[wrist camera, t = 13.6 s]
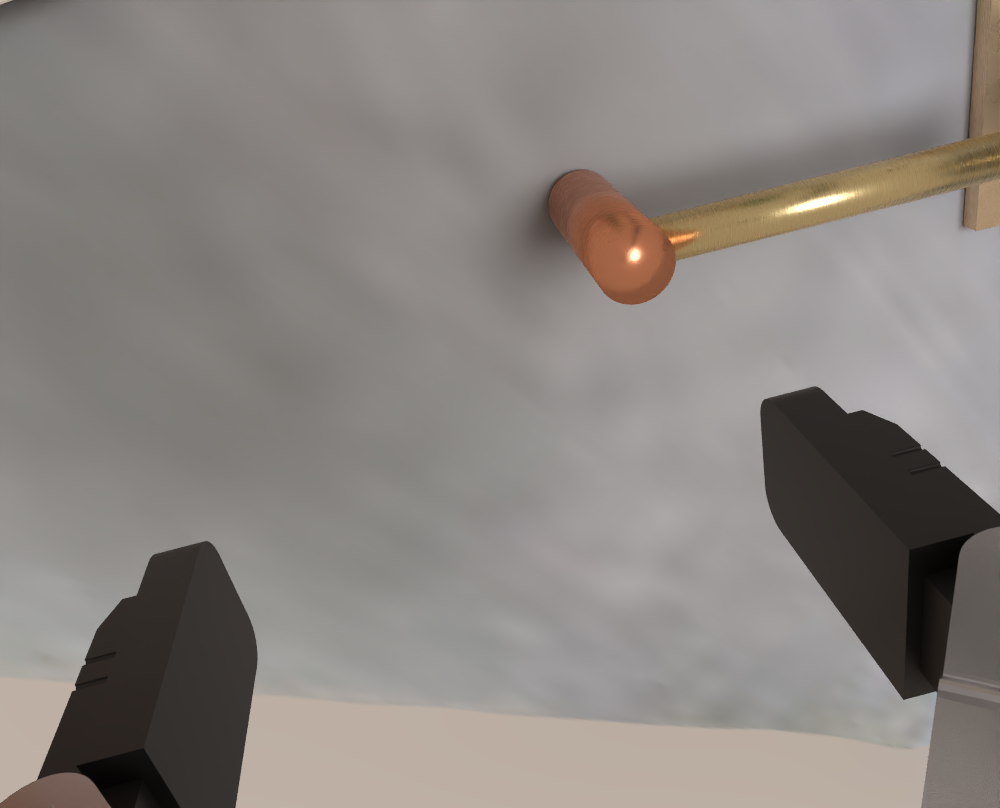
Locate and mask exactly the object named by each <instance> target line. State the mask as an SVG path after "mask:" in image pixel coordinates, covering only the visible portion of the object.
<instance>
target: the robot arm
mask: <svg viewBox="0 0 1000 808" xmlns="http://www.w3.org/2000/svg"><path fill="white" fill-rule="evenodd" d="M760 413H761V431H762V446H763V461H764V476H765V489H766V495H767V499H768V503H769V507H770V510H771V513H772V515H773V517H774V520H775V522H776V524H777V526H778V527H779V529H780V530H781V532H782V533H783V535H784V536H785V537H786V539H787V540H788V542H789V543H790V544H791V546H792V547H793V548H794V550H795V551H796V553H797V554H798V555H799V557H800V558H801V559H802V561H803V562H804V564H805V565H806V566H807V568H808V569H809V570H810V572H811V573H812V575H813V576H814V577H815V579H816V580H817V581H818V583H819V584H820V586H821V587H822V588H823V590H824V591H825V592H826V594H827V595H828V597H829V598H830V599H831V601H832V602H833V603H834V605H835V606H836V608H837V609H838V610H839V612H840V613H841V614H842V616H843V617H844V619H845V620H846V621H847V623H848V624H849V625H850V627H851V628H852V630H853V631H854V632H855V634H856V635H857V636H858V638H859V639H860V641H861V642H862V643H863V645H864V646H865V647H866V649H867V650H868V652H869V653H870V654H871V656H872V657H873V658H874V660H875V661H876V663H877V664H878V665H879V667H880V668H881V669H882V671H883V672H884V674H885V675H886V676H887V678H888V679H889V680H890V682H891V683H892V685H893V686H894V687H895V689H896V690H897V691H898V693H899V694H900V696H901V697H902V698H903V700H905V699H908V698H912V697H916V696H920V695H923V694H927V693H931V692H935V691H936V692H937V699H936V706H935V713H934V720H933V728H932V735H931V742H930V749H929V757H928V764H927V771H926V778H925V785H924V792H923V800H922V807H921V808H1000V514H999V513H998V512H997V511H996V510H994V509H993V508H992V507H991V506H990V505H989V504H988V503H986V502H985V501H984V500H983V499H982V498H981V497H979V496H978V495H977V494H976V493H975V492H974V491H973V490H971V489H970V488H969V487H968V486H967V485H966V484H965V483H963V482H962V481H961V480H960V479H959V478H958V477H957V476H955V475H954V474H953V473H952V472H951V471H950V470H949V469H947V468H946V467H945V466H944V467H941V465H940V462H939V461H938V460H937V459H936V458H935V457H934V456H933V455H931V454H930V453H929V452H928V451H927V450H926V449H923V450H922V449H921V445H920V444H919V443H918V442H917V441H915V440H914V439H913V438H912V437H911V436H910V435H909V434H907V433H906V432H905V431H904V430H903V429H902V428H901V427H899V426H898V425H897V424H895V423H892V422H890V421H888V420H885V419H883V418H880V417H878V416H875V415H873V414H871V413H868V412H866V411H863V410H861V411H857V412H853V413H849V414H847V413H846V412H845V411H844V410H843V409H842V408H841V407H840V406H839V405H838V404H837V403H835V402H834V401H833V400H832V399H831V398H830V397H829V396H828V395H827V394H826V393H825V392H824V391H823V390H821V389H820V388H818V387H810V388H806V389H803V390H799V391H795V392H791V393H787V394H783V395H779V396H775V397H771V398H767V399H764V400H763V402H762V404H761V411H760ZM85 661H86V665H84V666H82V668H81V671H80V673H79V676H78V678H77V681H76V683H75V686H76V691H73V692H72V693H71V696H70V698H69V701H68V703H67V706H66V709H65V711H64V713H63V716H62V718H61V721H60V723H59V726H58V729H57V731H56V733H55V736H54V739H53V741H52V744H51V746H50V749H49V751H48V754H47V756H46V759H45V761H44V764H43V766H42V769H41V771H40V774H39V776H38V779H37V780H36V781H34V782H32V783H30V784H28V785H26V786H24V787H23V788H21V789H19V790H18V791H16V792H15V793H13V794H12V795H10V796H9V797H8V798H7V799H5V800H4V801H3V802H1V803H0V808H235V806H236V800H237V793H238V786H239V780H240V773H241V766H242V760H243V753H244V747H245V740H246V734H247V728H248V721H249V714H250V708H251V701H252V695H253V688H254V682H255V675H256V669H257V645H256V639H255V634H254V630H253V627H252V624H251V621H250V619H249V617H248V615H247V612H246V610H245V608H244V606H243V604H242V602H241V600H240V598H239V596H238V594H237V591H236V589H235V587H234V585H233V583H232V581H231V579H230V577H229V575H228V573H227V570H226V568H225V566H224V564H223V562H222V560H221V558H220V556H219V554H218V552H217V550H216V549H215V547H214V546H213V545H212V544H211V543H210V542H208V541H204V542H201V543H197V544H193V545H189V546H185V547H181V548H177V549H173V550H169V551H166V552H162V553H158V554H155V555H153V556H152V557H151V558H150V561H149V563H148V566H147V568H146V571H145V574H144V577H143V580H142V582H141V585H140V588H139V591H138V594H137V596H133V597H129V598H125V599H122V600H121V601H120V603H119V604H118V605H117V606H116V607H115V609H114V610H113V611H112V612H111V613H110V615H109V616H108V617H107V618H106V619H105V621H104V622H103V623H102V624H101V625H100V626H99V628H98V629H97V631H96V633H95V636H94V638H93V641H92V643H91V646H90V648H89V651H88V653H87V656H86V658H85Z"/></svg>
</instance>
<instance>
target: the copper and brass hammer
mask: <svg viewBox="0 0 1000 808" xmlns="http://www.w3.org/2000/svg"><path fill="white" fill-rule="evenodd" d="M999 179H1000V131H998V132H994V133H990V134H986V135H982V136H978V137H974V138H970V139H966V140H962V141H958V142H954V143H950V144H946V145H942V146H938V147H934V148H930V149H926V150H922V151H918V152H914V153H910V154H906V155H902V156H898V157H894V158H890V159H886V160H882V161H878V162H874V163H870V164H866V165H862V166H858V167H854V168H850V169H846V170H842V171H838V172H834V173H830V174H826V175H822V176H818V177H814V178H810V179H806V180H802V181H798V182H794V183H790V184H786V185H782V186H778V187H774V188H770V189H766V190H762V191H758V192H754V193H750V194H746V195H742V196H738V197H734V198H730V199H726V200H722V201H718V202H714V203H710V204H706V205H702V206H698V207H694V208H690V209H686V210H682V211H678V212H674V213H670V214H666V215H662V216H658V217H654V218H650V219H648V218H646V217H645V216H644V215H643V214H642V213H641V212H640V211H639V210H638V209H637V208H636V207H635V206H633V205H632V204H631V203H630V202H629V201H628V200H627V199H626V198H625V197H624V196H623V195H621V194H620V193H619V192H618V191H617V190H616V189H615V188H614V187H613V186H612V185H611V184H609V183H608V182H607V181H606V180H605V179H604V178H603V177H602V176H600V175H599V174H597V173H595V172H593V171H589V170H577V171H573V172H570V173H568V174H566V175H565V176H563V177H562V178H561V179H560V180H559V181H558V182H557V183H556V184H555V186H554V187H553V189H552V191H551V193H550V197H549V202H548V208H549V214H550V217H551V219H552V221H553V223H554V224H555V225H556V227H557V228H558V230H559V231H560V232H561V234H562V235H563V237H564V238H565V239H566V241H567V242H568V244H569V245H570V246H571V248H572V249H573V251H574V252H575V253H576V255H577V256H578V258H579V259H580V260H581V262H582V263H583V265H584V266H585V267H586V269H587V270H588V271H589V273H590V274H591V276H592V277H593V278H594V280H595V281H596V283H597V284H598V285H599V287H600V288H601V290H602V291H603V292H604V293H605V294H606V295H607V296H608V297H609V298H610V299H612V300H614V301H616V302H619V303H622V304H630V305H631V304H640V303H643V302H646V301H649V300H651V299H652V298H654V297H656V296H657V295H658V294H660V293H661V292H662V291H663V290H664V289H665V287H666V286H667V285H668V283H669V282H670V280H671V278H672V276H673V273H674V270H675V264H676V261H677V260H681V259H685V258H689V257H693V256H697V255H701V254H705V253H709V252H713V251H717V250H721V249H725V248H729V247H733V246H737V245H741V244H745V243H749V242H753V241H757V240H760V239H764V238H768V237H772V236H776V235H780V234H784V233H788V232H792V231H796V230H800V229H804V228H808V227H812V226H816V225H820V224H824V223H828V222H832V221H836V220H840V219H844V218H848V217H852V216H856V215H860V214H864V213H868V212H872V211H876V210H880V209H884V208H888V207H892V206H896V205H900V204H903V203H907V202H911V201H915V200H919V199H923V198H927V197H931V196H935V195H939V194H943V193H947V192H951V191H955V190H959V189H963V188H967V187H971V186H975V185H979V184H983V183H987V182H991V181H995V180H999Z"/></svg>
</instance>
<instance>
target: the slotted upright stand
mask: <svg viewBox="0 0 1000 808" xmlns="http://www.w3.org/2000/svg"><path fill="white" fill-rule="evenodd" d="M998 131H1000V0H977V15H976V31H975V47H974V63H973V80H972V96H971V112H970V128H969V139H970V138H974V137H978V136H982V135H986V134H990V133H994V132H998ZM963 225H964V226H966V227H968V228H971V229H973V230H975V231H978V230H982V229H986V228H990V227H994V226H998V225H1000V179H999V180H995V181H991V182H987V183H983V184H979V185H975V186H971V187H967V188H966V192H965V208H964V224H963Z"/></svg>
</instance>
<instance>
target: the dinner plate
mask: <svg viewBox="0 0 1000 808" xmlns="http://www.w3.org/2000/svg"><path fill="white" fill-rule="evenodd" d="M9 1H12V0H0V5H1V4H4V3H6V2H9Z"/></svg>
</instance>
